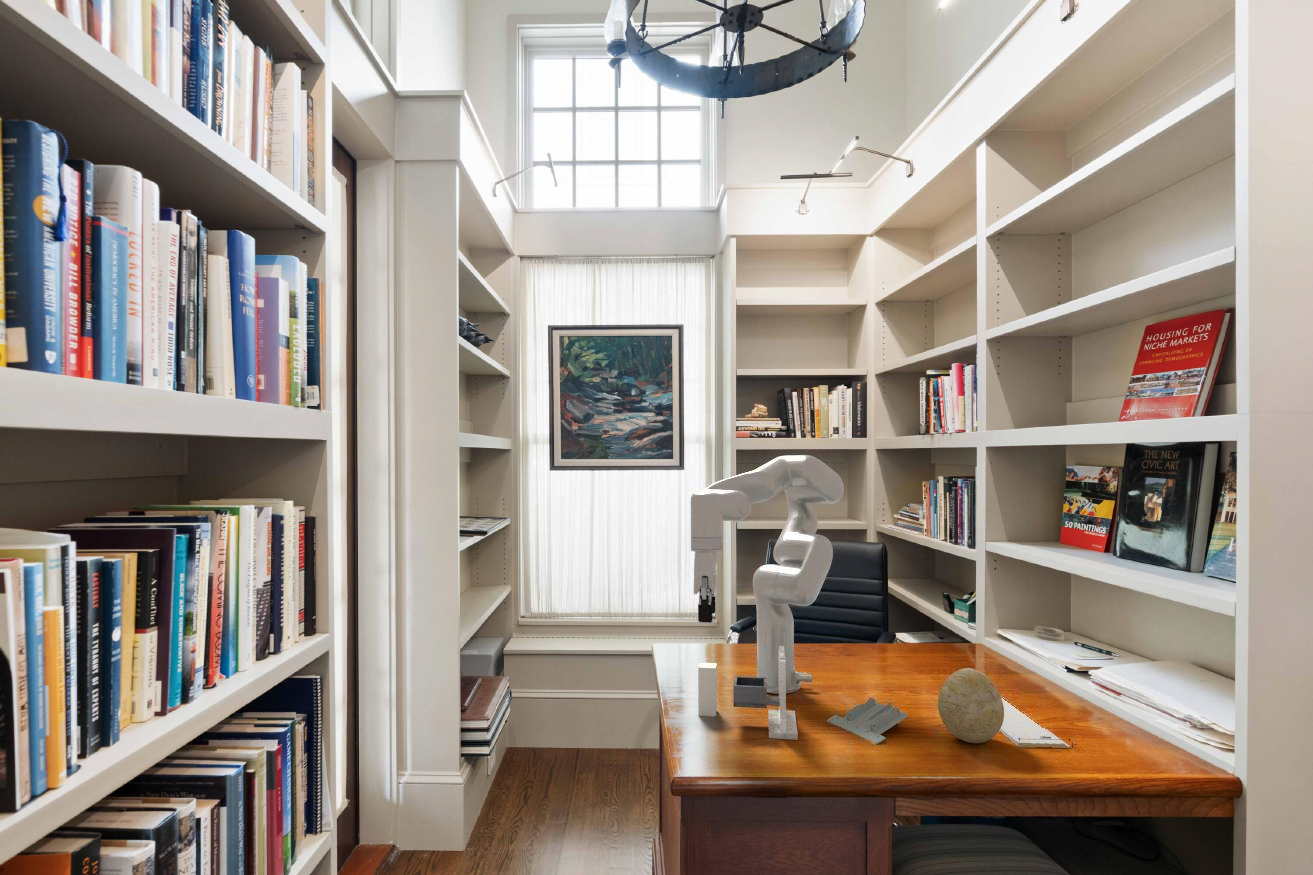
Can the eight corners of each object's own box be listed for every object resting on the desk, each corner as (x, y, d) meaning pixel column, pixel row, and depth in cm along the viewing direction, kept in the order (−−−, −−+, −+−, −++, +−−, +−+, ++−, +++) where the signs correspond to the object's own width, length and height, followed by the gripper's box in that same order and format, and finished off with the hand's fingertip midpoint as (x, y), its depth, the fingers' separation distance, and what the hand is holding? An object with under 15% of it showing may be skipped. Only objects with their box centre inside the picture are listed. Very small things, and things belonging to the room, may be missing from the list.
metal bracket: (866, 688, 164) (917, 708, 150) (871, 711, 164) (922, 733, 151) (821, 715, 157) (870, 738, 144) (826, 739, 158) (876, 764, 144)
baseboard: (1008, 700, 173) (959, 700, 174) (1008, 688, 174) (959, 688, 174) (1078, 751, 143) (1018, 750, 143) (1078, 736, 143) (1018, 735, 143)
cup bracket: (794, 715, 161) (794, 645, 161) (797, 739, 147) (797, 662, 148) (735, 712, 163) (735, 643, 163) (732, 735, 149) (732, 660, 150)
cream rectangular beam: (716, 710, 164) (716, 663, 165) (715, 716, 160) (715, 668, 161) (699, 709, 165) (699, 662, 165) (698, 715, 161) (698, 667, 162)
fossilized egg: (1016, 743, 145) (1015, 670, 146) (983, 758, 138) (982, 681, 138) (959, 725, 155) (958, 657, 156) (926, 737, 148) (925, 666, 148)
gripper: (694, 540, 173) (694, 609, 173) (686, 548, 156) (687, 625, 156) (724, 540, 172) (725, 610, 172) (720, 549, 155) (720, 626, 155)
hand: (707, 617), depth 164 cm, fingers open, 9 cm apart
